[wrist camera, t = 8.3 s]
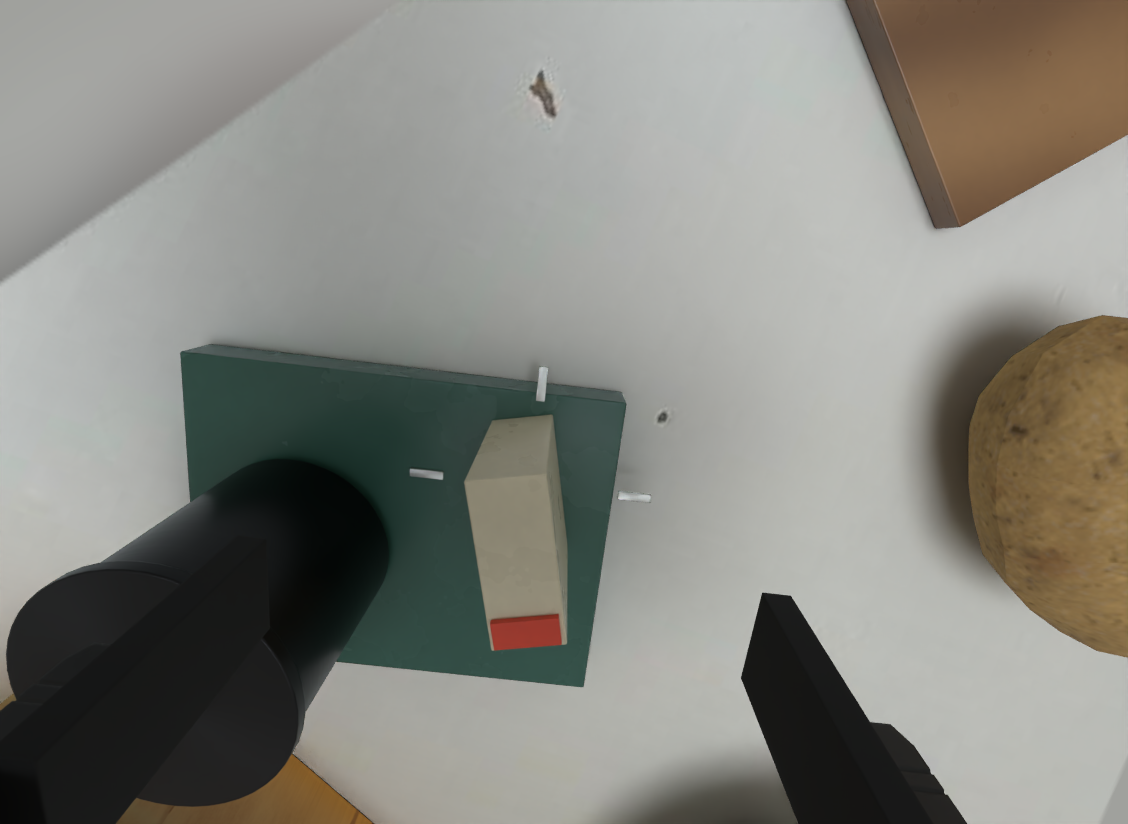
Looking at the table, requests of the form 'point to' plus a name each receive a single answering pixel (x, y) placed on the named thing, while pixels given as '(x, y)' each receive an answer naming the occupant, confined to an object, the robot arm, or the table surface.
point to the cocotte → (280, 659)
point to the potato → (1059, 479)
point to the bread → (257, 803)
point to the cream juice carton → (520, 533)
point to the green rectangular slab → (415, 486)
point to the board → (997, 91)
